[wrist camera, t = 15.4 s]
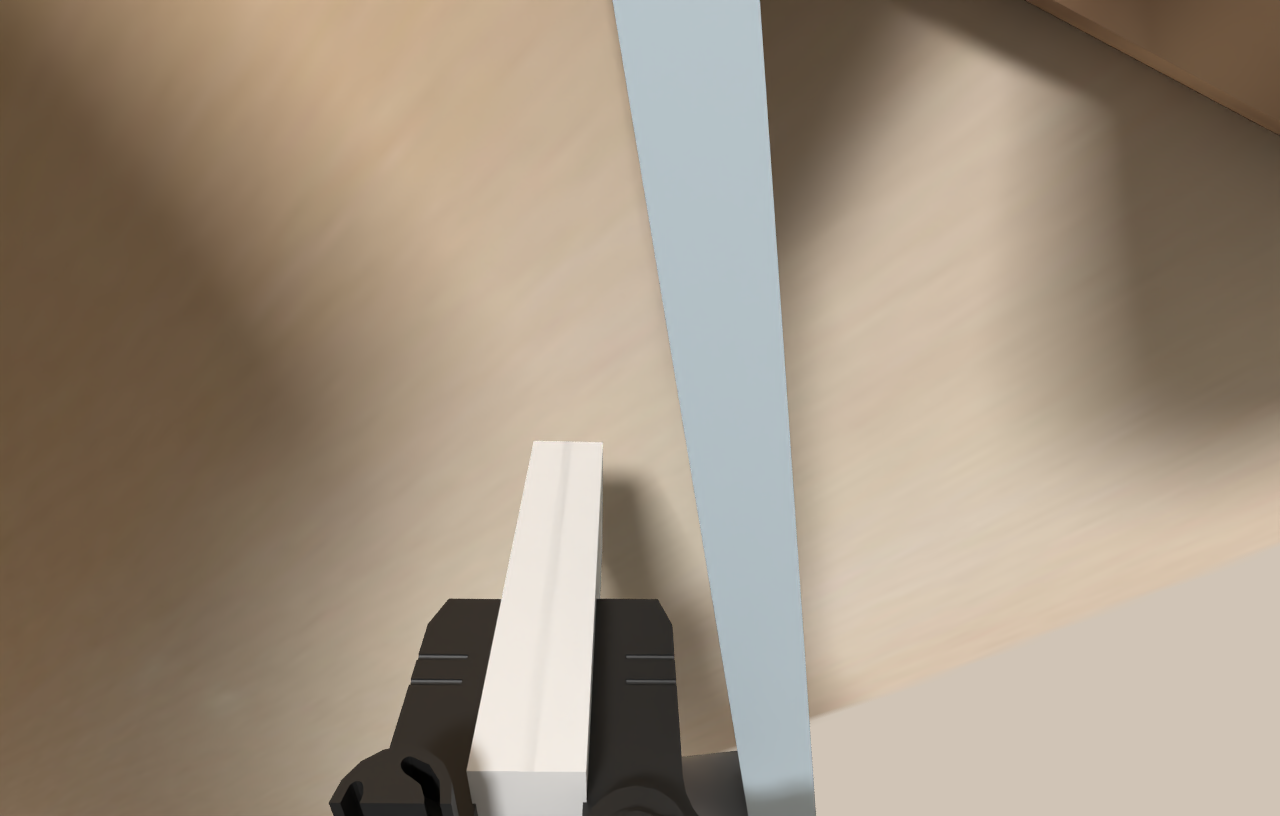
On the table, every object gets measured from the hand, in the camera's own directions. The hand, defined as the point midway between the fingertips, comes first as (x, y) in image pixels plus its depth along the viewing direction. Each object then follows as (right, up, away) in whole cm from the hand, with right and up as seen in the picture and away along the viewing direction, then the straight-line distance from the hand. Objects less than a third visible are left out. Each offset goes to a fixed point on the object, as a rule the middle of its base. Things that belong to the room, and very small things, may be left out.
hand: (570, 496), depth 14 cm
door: (+2, +3, +1) cm, 4 cm away
